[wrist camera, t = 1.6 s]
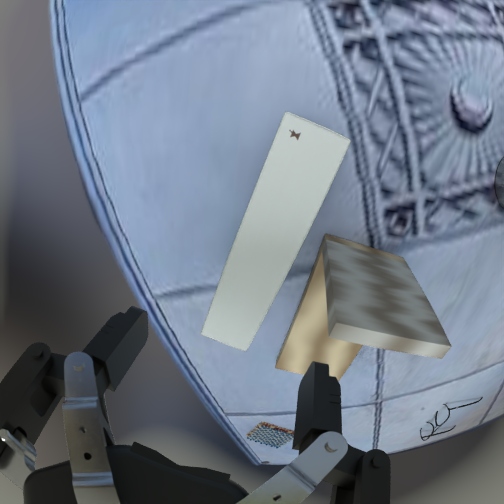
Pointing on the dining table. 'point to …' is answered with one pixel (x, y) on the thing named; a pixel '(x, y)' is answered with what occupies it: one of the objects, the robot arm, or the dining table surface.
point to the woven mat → (271, 435)
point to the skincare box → (274, 227)
